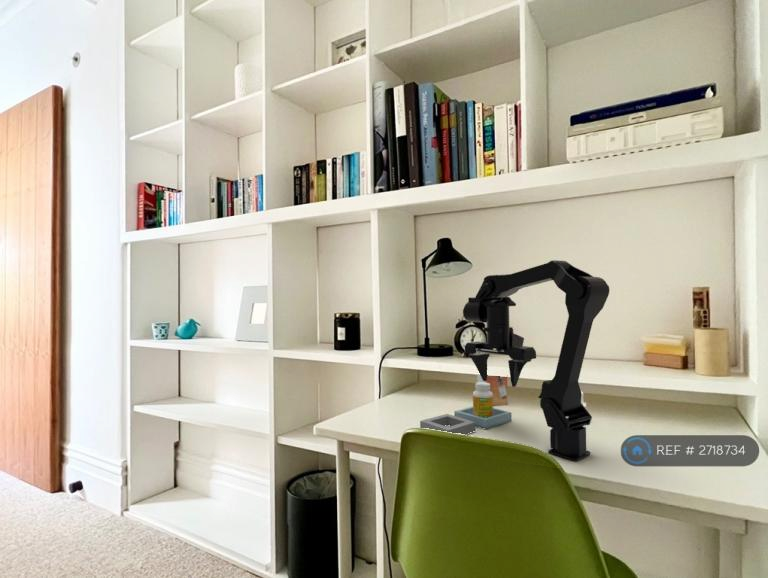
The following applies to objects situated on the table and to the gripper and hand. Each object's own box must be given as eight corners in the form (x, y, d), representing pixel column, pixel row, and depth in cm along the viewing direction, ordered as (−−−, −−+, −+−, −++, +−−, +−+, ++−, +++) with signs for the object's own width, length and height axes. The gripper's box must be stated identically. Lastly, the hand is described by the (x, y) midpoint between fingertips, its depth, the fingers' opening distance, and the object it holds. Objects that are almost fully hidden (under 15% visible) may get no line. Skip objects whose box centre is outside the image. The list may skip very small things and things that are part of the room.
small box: (485, 406, 134) (485, 373, 134) (477, 402, 139) (476, 370, 139) (508, 404, 136) (507, 371, 136) (499, 400, 141) (498, 368, 142)
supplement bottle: (477, 422, 116) (477, 386, 116) (470, 416, 121) (469, 382, 121) (496, 420, 117) (496, 385, 117) (487, 415, 122) (487, 381, 123)
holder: (475, 431, 110) (475, 422, 110) (448, 440, 104) (448, 430, 104) (447, 422, 118) (447, 413, 118) (420, 430, 112) (420, 420, 112)
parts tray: (511, 421, 118) (511, 412, 118) (485, 429, 112) (485, 419, 112) (480, 412, 127) (480, 404, 127) (454, 420, 120) (454, 411, 120)
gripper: (547, 323, 109) (549, 384, 109) (488, 320, 124) (489, 374, 124) (522, 326, 102) (523, 391, 102) (462, 322, 117) (463, 379, 117)
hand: (499, 383), depth 111 cm, fingers open, 9 cm apart
